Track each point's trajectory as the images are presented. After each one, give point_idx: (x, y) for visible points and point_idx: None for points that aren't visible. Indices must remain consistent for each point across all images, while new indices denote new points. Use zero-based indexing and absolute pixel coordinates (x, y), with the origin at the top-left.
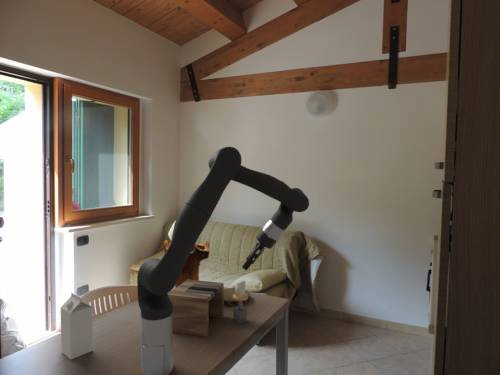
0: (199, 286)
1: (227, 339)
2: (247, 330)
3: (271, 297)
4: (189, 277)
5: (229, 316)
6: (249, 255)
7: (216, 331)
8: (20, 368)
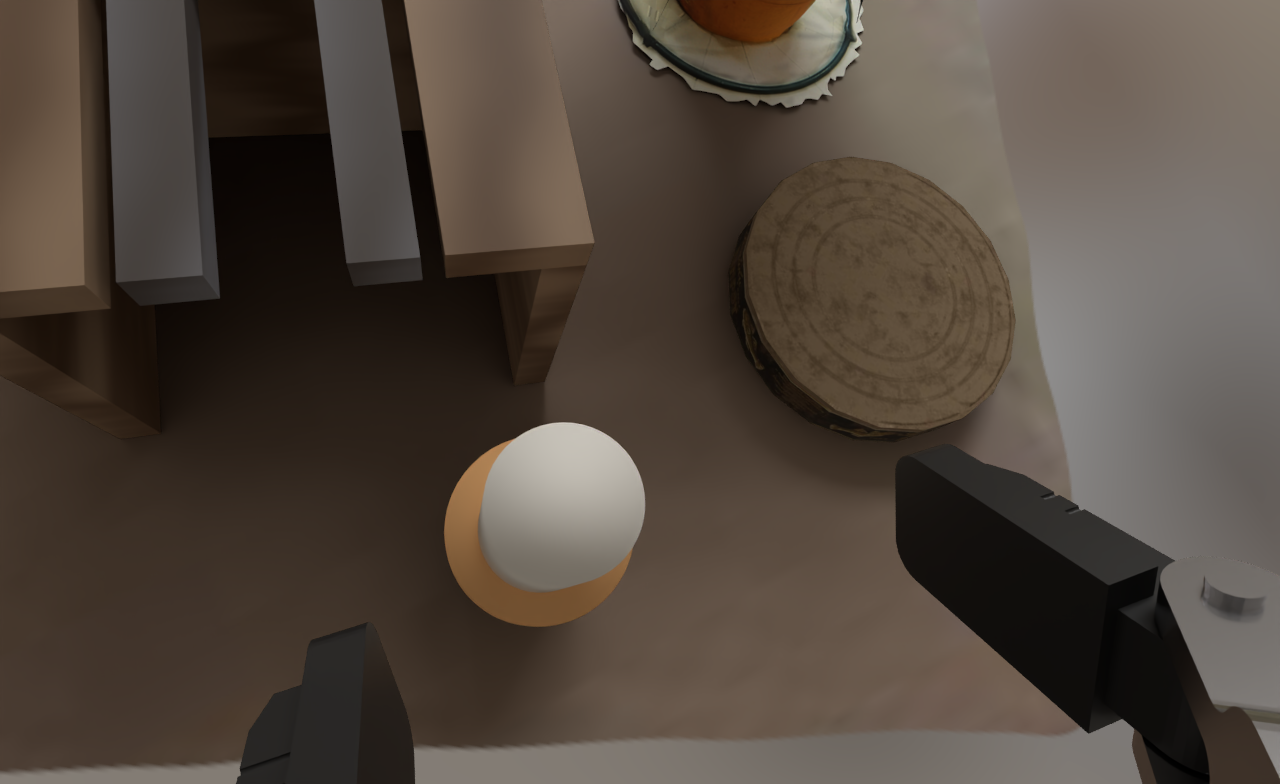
0: (336, 35)
1: (140, 622)
2: None
3: None
4: None
5: None
6: (1010, 534)
7: (256, 460)
8: None
